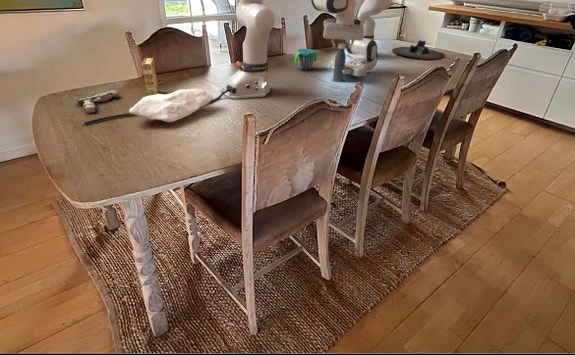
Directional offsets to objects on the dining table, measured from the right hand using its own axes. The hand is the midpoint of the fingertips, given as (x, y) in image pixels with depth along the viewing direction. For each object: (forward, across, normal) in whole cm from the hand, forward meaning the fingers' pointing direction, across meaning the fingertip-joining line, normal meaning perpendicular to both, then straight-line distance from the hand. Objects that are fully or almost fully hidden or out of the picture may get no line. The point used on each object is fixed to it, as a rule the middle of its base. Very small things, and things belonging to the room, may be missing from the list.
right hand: (338, 70), depth 192 cm
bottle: (-1, 0, +5) cm, 5 cm away
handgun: (+109, -38, +5) cm, 115 cm away
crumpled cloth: (+90, -11, +5) cm, 91 cm away
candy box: (+87, -36, +5) cm, 94 cm away
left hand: (-1, 0, -11) cm, 11 cm away
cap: (-1, 0, -13) cm, 13 cm away
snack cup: (0, -25, +5) cm, 26 cm away
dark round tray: (-92, -7, +5) cm, 92 cm away
